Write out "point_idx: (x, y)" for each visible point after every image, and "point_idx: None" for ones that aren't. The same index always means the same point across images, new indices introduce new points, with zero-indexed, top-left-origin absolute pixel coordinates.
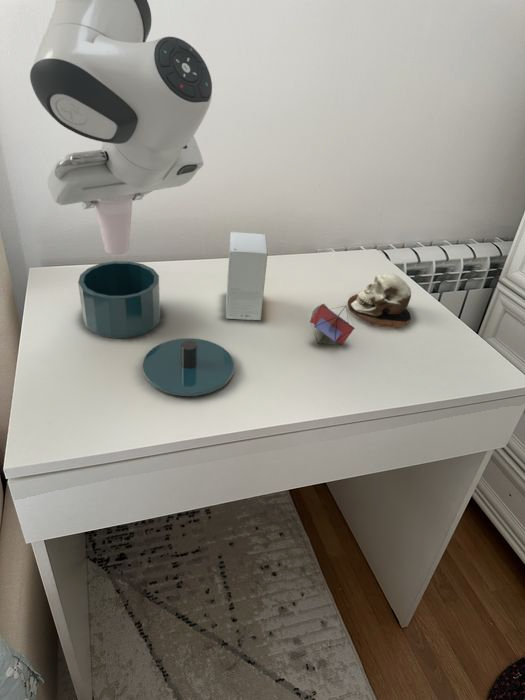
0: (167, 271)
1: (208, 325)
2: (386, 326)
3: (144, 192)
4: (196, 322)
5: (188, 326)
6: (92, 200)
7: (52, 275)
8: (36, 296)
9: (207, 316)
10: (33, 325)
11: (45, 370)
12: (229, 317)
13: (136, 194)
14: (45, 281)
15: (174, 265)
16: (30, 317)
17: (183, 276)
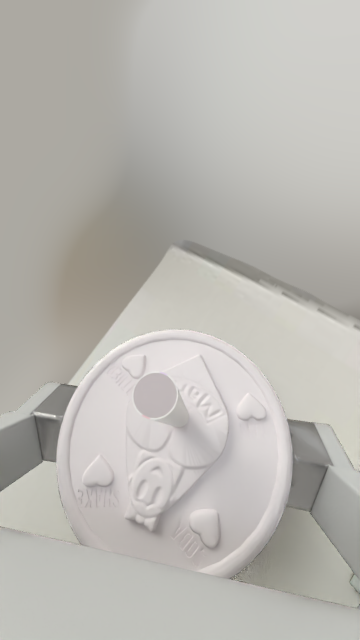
0: (331, 353)
1: (303, 572)
2: None
3: (336, 543)
4: (288, 542)
5: (267, 543)
6: (54, 449)
7: (178, 273)
8: (132, 307)
9: (318, 540)
10: (87, 369)
11: (27, 484)
12: (357, 591)
13: (289, 498)
14: (162, 281)
15: (352, 343)
16: (96, 349)
17: (349, 383)
